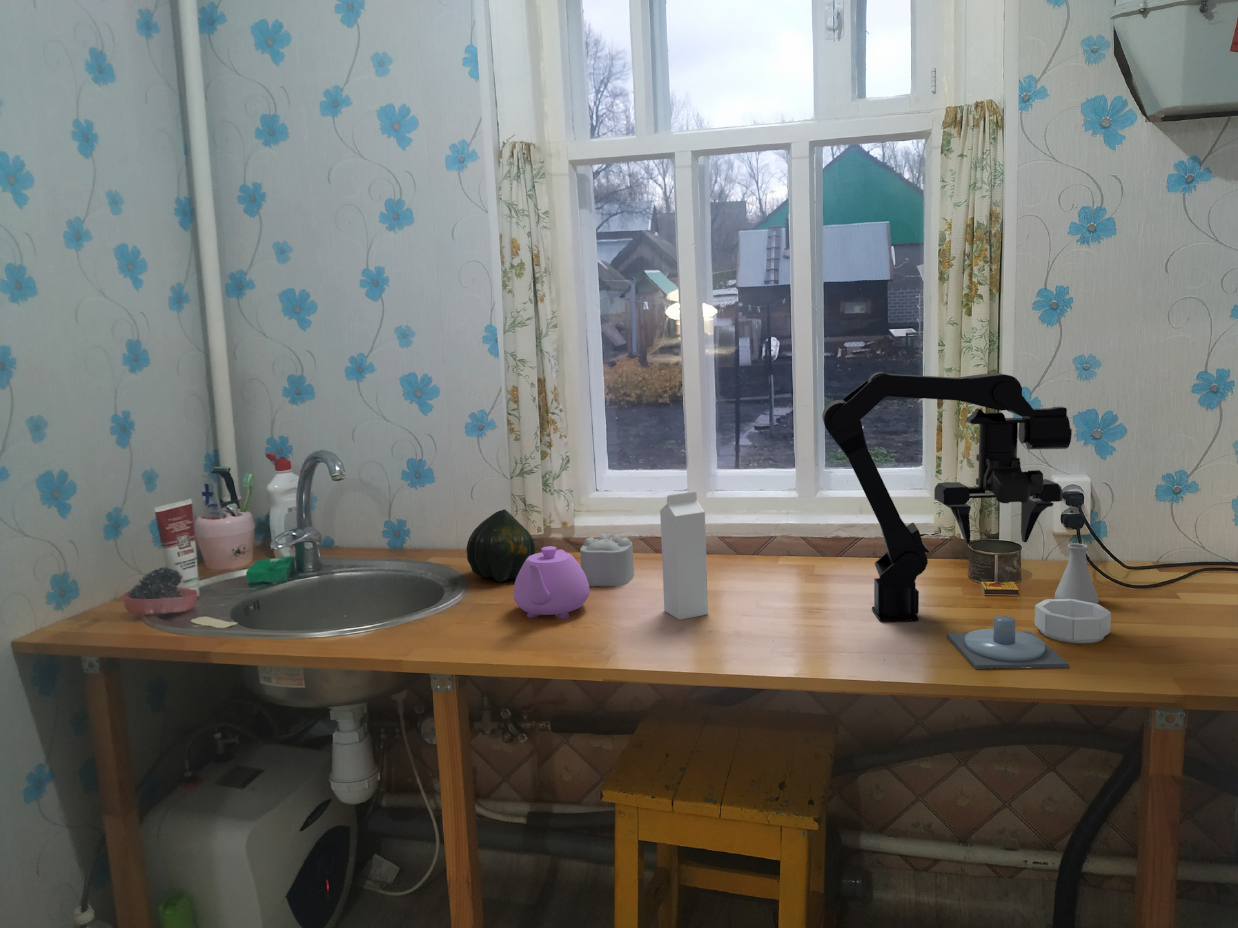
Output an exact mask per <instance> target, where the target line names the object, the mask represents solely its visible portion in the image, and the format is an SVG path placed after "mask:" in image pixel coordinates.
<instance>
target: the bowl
mask: <svg viewBox="0 0 1238 928" xmlns="http://www.w3.org/2000/svg"><path fill="white" fill-rule="evenodd" d="M1111 614H1112V612H1111V611H1109V610H1108V609H1107V608H1106V607H1103V606H1102V605H1100V604H1099V603H1098V604H1095V603H1090V602H1085V601H1080V600H1075V599H1054V598H1050V599H1047V598H1046V599H1043V600H1042V601H1040V602H1039V603H1037V604H1035V605H1034V626H1036V628H1038V629H1039V631H1040V633H1041V634H1042V635H1043V636H1045V637H1047V638H1049V639H1052V640H1056V641H1059V642H1064V643H1069V644H1084V645H1085V644H1094V643H1095V644H1096V643H1099V642H1102V641H1103V640H1104V639H1105V636H1107V635H1108V634H1110V633H1111V619H1112V615H1111Z"/></svg>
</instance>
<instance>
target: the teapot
mask: <svg viewBox="0 0 1238 928" xmlns="http://www.w3.org/2000/svg"><path fill="white" fill-rule="evenodd" d="M540 549H541V552H538V553H535V554H533V555H531V556H529V557H528V558H527V559H526V561H525V562H524V564H523V566H522V568H521V569H520V571H519V573H518V576H517V578H515V582H514V586H513V594H512V595H513V597H512V598H513V601H514V602H515V604H516V605H517V606H518V607H519V608H520V609H522V611H523V612H525V613H527V614H526V618H530V619H532V618H537V617H539V616H540V615H541V616H548V615H549V616H550V615H551V616H553V615H555V616H556V618H557V619H561V620H562V619H568V618H570V616H571V615H570V614H569V613H570V612H573V611H576V610H578V609H580V607H582V606H583V605H584V604H585V602H586V601H587V599H588V598H589V597H590V594H591V593H590V592H591V591H590V586H589V584H588V580H587V577H586V575H585V573H584V571H583V570H582V568H581V564H580V563H579V562H578V561H577V560H576V559H575V557H574V556H573V555H572V554H571V553H569V552H566V551H565V550H564V549H558V548H557V547H556V546H550V545H549V546H544V547H541V548H540Z"/></svg>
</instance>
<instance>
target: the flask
mask: <svg viewBox="0 0 1238 928" xmlns="http://www.w3.org/2000/svg"><path fill="white" fill-rule="evenodd" d="M1067 549H1068V550H1069V555H1068V561H1067V565H1066V567H1065V569H1064V572H1063V575H1062V577H1061V579H1060V582H1059V583H1058V585H1057V588H1056V590H1055V593H1054V597H1053V599H1075V600H1080V601H1085V602H1090V603H1095V604H1099V602H1100V601H1099V597H1098V594H1097V591H1096V588H1095V586H1094V582H1093V579H1092V577H1091V574H1090V571H1089V567H1088V563H1087V562H1088V561H1087V551H1088V549H1089V546H1088V545H1087V544H1085V543H1077V542H1076V543H1068V544H1067Z"/></svg>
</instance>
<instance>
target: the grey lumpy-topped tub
mask: <svg viewBox="0 0 1238 928" xmlns="http://www.w3.org/2000/svg"><path fill="white" fill-rule="evenodd" d="M633 545H634V544H633V542H632V541H631V540H630V539H629V538H628V537H622V535H621V534H619V533H615V534H613V536H610V535H609V534H607V533H602V534H601V535H599V537H598V538H594V537H589V536H588V537H587V538H585V540H584V542H583V545H582V546H581V547H580V549H579V554H580V555H579V556H580V567H581V568H582V570H583V571H584V573H585V575H586V577H587V580H588V584H589V587H595V586H596V587H597V586H600V587H601V586H602V587H603V586H604V587H620V586H625V585H627V584H629V583H630V582H631V581H632V580H633V578H634V576H635V573H634V572H635V570H634V548H633Z"/></svg>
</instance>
